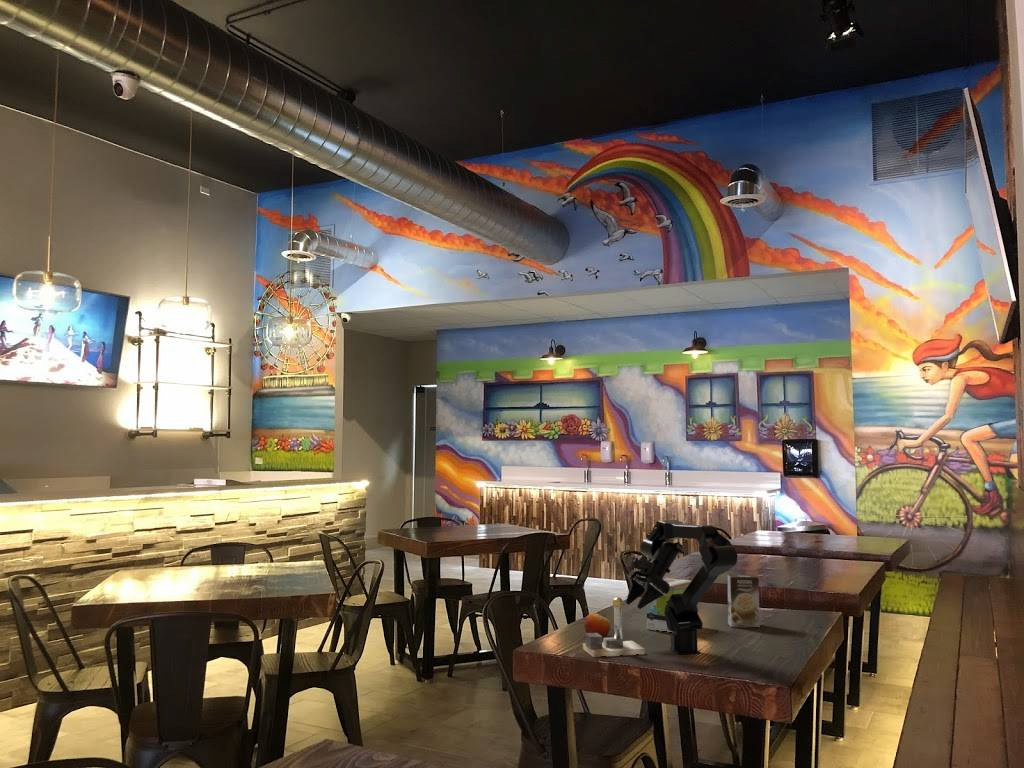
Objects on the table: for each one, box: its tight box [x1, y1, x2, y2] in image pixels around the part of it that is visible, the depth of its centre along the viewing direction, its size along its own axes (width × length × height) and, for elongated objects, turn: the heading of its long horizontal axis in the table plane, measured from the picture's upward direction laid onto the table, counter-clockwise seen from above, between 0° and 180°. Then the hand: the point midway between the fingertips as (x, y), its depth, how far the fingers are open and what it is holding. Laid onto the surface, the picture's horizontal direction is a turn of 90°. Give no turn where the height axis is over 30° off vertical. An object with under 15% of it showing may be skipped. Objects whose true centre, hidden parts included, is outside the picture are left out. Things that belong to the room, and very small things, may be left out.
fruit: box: [584, 612, 612, 639], centre depth 251 cm, size 8×8×8 cm
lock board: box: [582, 632, 646, 658], centre depth 232 cm, size 15×10×5 cm, turn 102°
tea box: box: [646, 577, 692, 633], centre depth 264 cm, size 15×10×15 cm, turn 143°
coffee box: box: [727, 573, 760, 628], centre depth 266 cm, size 9×6×16 cm
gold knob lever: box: [602, 596, 624, 647], centre depth 232 cm, size 6×3×13 cm, turn 102°
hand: (632, 605), depth 236 cm, fingers open, 9 cm apart
